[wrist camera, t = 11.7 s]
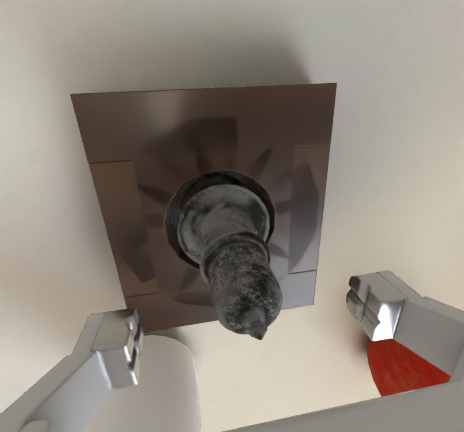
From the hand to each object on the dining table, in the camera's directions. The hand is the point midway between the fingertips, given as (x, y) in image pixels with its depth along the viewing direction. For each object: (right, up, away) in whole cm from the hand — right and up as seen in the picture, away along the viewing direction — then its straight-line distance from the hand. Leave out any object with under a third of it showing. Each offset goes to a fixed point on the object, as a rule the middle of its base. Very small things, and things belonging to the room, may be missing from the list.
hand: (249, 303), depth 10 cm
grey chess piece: (-2, +4, +10) cm, 11 cm away
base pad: (-2, +4, +10) cm, 11 cm away
